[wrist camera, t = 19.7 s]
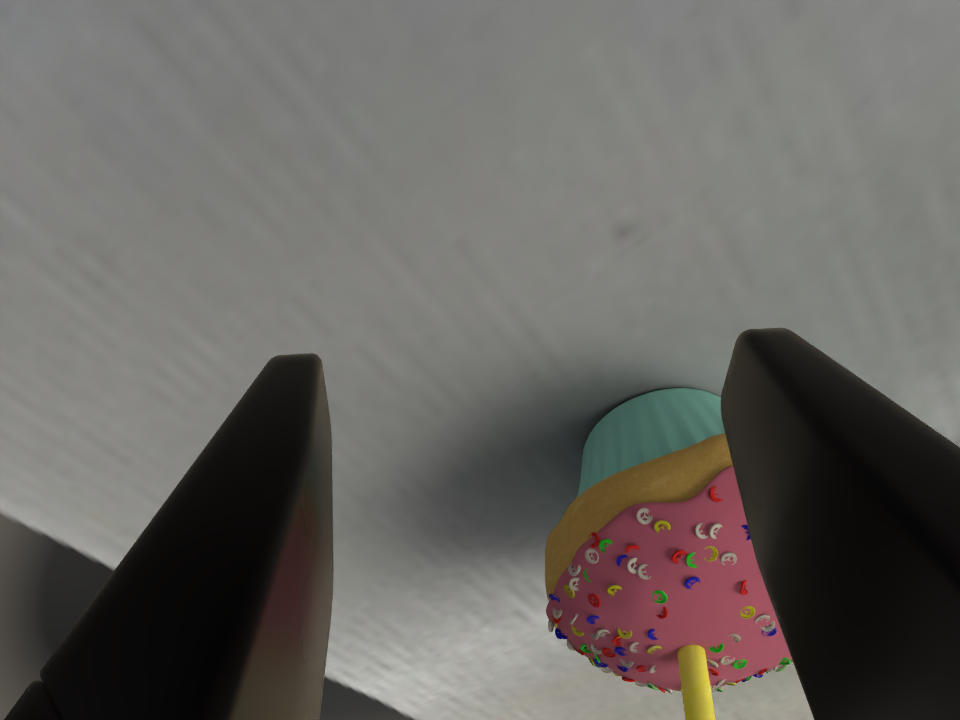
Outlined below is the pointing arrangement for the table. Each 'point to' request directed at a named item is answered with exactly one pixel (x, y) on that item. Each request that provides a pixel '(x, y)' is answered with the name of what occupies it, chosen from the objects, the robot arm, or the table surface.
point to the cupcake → (662, 555)
